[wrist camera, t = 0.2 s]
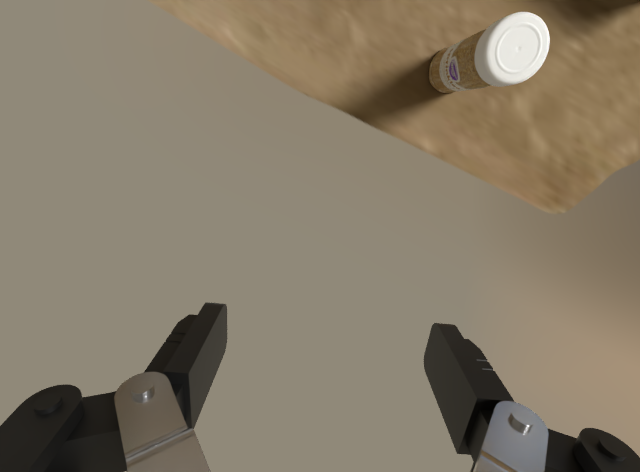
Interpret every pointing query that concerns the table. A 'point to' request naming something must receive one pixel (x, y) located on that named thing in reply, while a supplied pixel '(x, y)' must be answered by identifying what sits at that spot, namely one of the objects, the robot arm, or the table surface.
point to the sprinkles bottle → (493, 55)
